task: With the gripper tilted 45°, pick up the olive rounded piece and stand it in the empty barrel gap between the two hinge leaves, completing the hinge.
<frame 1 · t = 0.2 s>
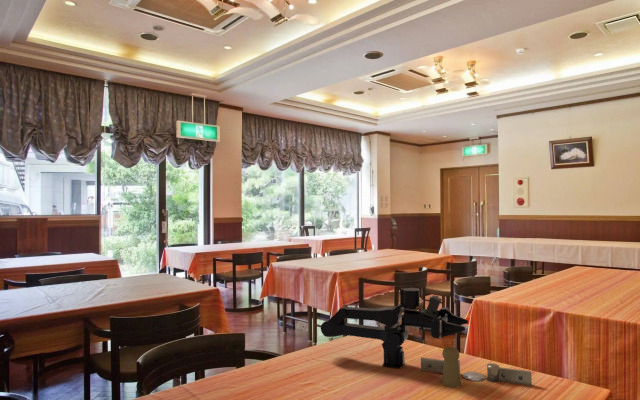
hand: (466, 325, 138), 17 cm above the table, tool horizontal, fingers open, 9 cm apart
hinge frame: (473, 376, 136), on the table
olive rounded piece: (451, 384, 131), on the table
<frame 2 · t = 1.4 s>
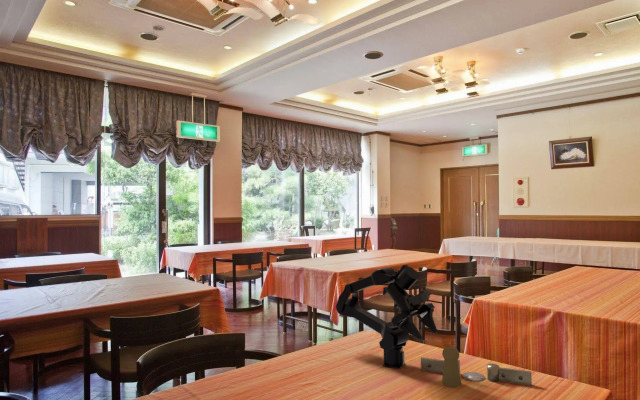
hand: (429, 335, 137), 13 cm above the table, tool tilted 45°, fingers open, 9 cm apart
nothing on the table moved.
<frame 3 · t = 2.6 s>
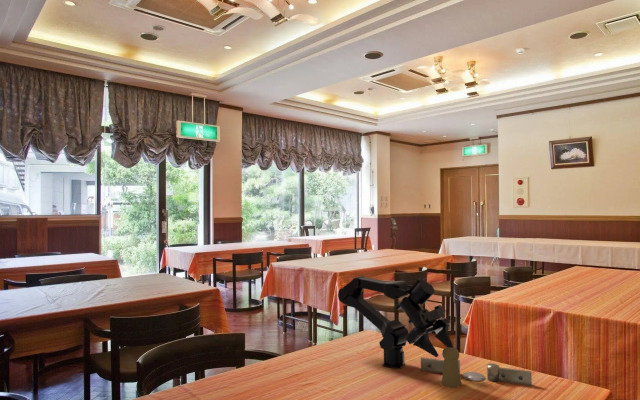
hand: (445, 352, 133), 9 cm above the table, tool tilted 45°, fingers open, 9 cm apart
nothing on the table moved.
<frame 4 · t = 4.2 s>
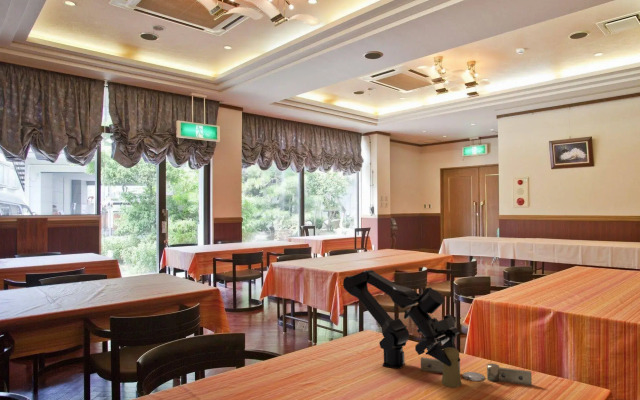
hand: (455, 363, 130), 7 cm above the table, tool tilted 45°, fingers closed on olive rounded piece, 5 cm apart
olive rounded piece: (451, 384, 131), on the table, touching gripper
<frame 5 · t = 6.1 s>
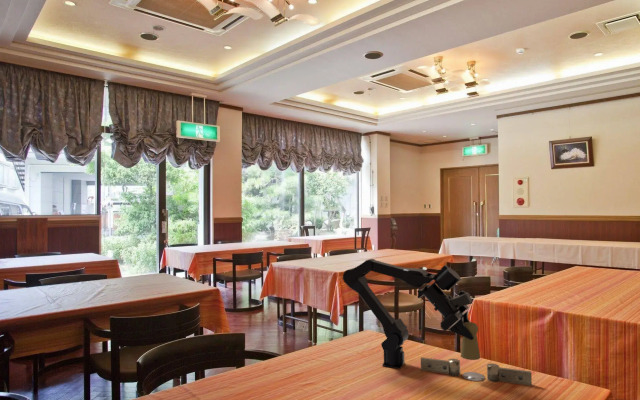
hand: (474, 336, 135), 14 cm above the table, tool tilted 45°, fingers closed on olive rounded piece, 5 cm apart
olive rounded piece: (470, 357, 135), point 7 cm above the table, touching gripper
when the fingers open (8 cm above the table, at t = 8.3 s): olive rounded piece stays where it is, resting on hinge frame.
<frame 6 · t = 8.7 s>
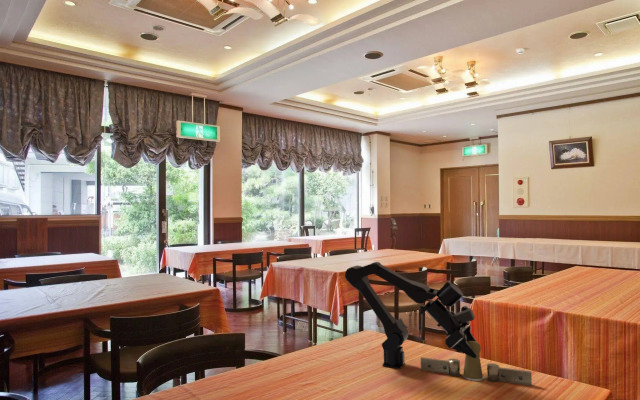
hand: (477, 352, 135), 8 cm above the table, tool tilted 45°, fingers open, 9 cm apart
olive rounded piece: (473, 376, 136), resting on hinge frame
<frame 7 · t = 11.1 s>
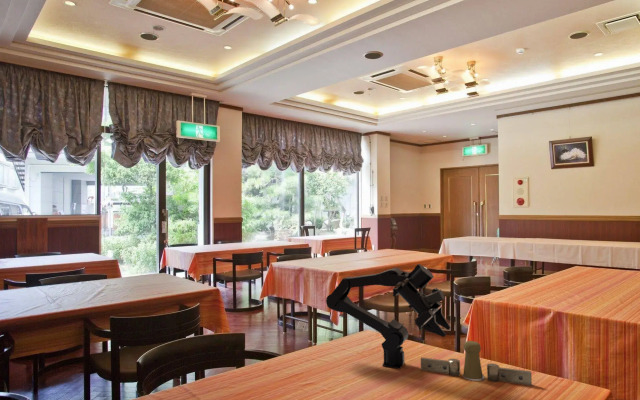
hand: (447, 332, 140), 14 cm above the table, tool tilted 45°, fingers open, 9 cm apart
nothing on the table moved.
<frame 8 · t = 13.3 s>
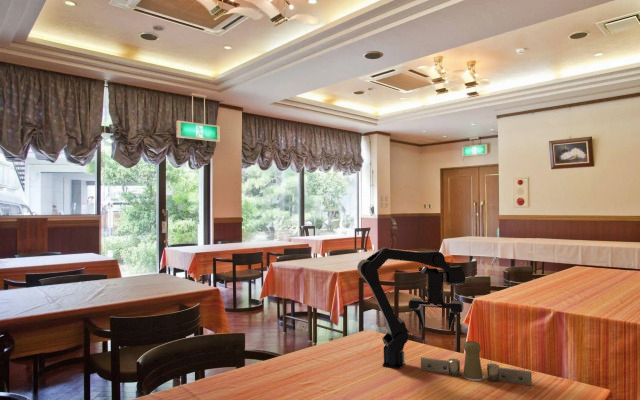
hand: (436, 328, 150), 12 cm above the table, tool pointing down, fingers open, 9 cm apart
nothing on the table moved.
at the end: olive rounded piece 0.3 cm off-centre on the hinge frame, point 0.1 cm above the hinge frame's base; olive rounded piece tilted 0°; the gripper is holding nothing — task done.
